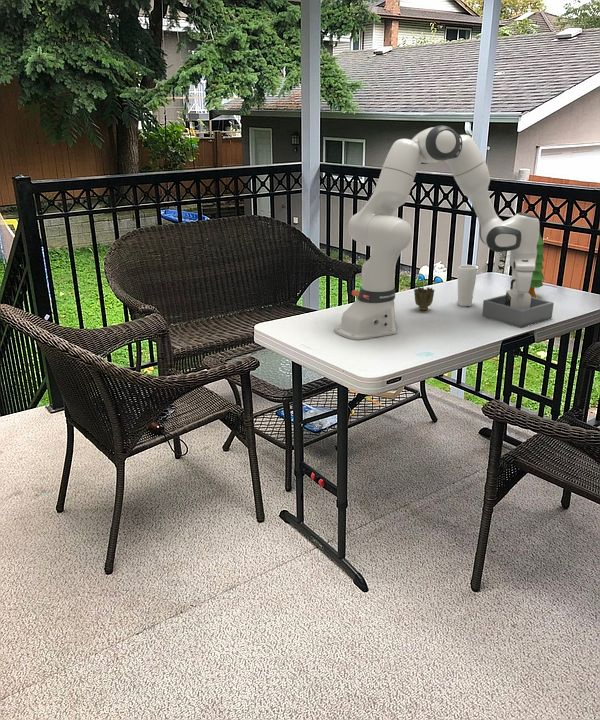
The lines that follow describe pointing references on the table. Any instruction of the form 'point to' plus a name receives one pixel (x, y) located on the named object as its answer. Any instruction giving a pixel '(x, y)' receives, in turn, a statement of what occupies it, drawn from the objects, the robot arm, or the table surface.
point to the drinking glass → (466, 284)
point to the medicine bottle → (512, 298)
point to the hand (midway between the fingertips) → (518, 298)
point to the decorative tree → (537, 269)
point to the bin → (517, 311)
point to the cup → (423, 297)
